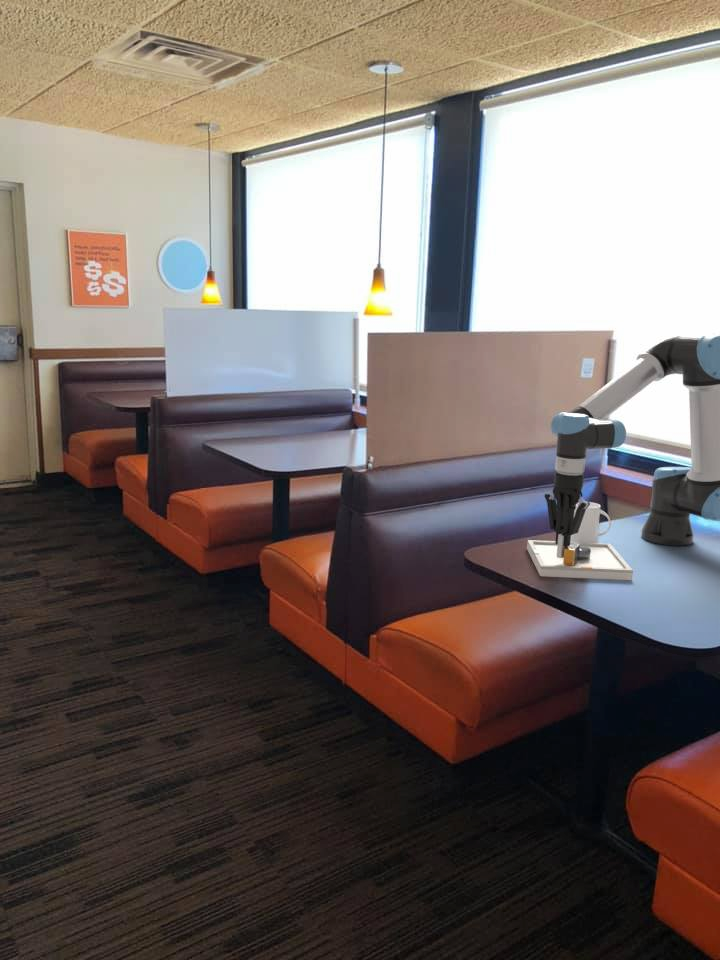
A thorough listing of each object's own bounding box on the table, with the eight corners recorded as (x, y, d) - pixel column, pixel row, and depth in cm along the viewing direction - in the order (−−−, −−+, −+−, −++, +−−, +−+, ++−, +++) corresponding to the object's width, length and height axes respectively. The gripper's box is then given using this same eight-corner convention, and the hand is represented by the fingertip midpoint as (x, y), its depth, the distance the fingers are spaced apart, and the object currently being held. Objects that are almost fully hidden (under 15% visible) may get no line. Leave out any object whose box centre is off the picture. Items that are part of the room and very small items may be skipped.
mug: (611, 543, 234) (615, 505, 232) (603, 550, 227) (607, 511, 225) (574, 536, 241) (577, 499, 238) (565, 542, 234) (568, 504, 231)
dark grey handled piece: (567, 549, 218) (569, 535, 217) (592, 554, 215) (594, 539, 214) (554, 562, 206) (556, 547, 205) (581, 567, 203) (582, 551, 202)
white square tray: (609, 552, 225) (610, 542, 224) (631, 580, 201) (633, 569, 201) (526, 549, 226) (527, 539, 226) (540, 576, 203) (541, 565, 202)
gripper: (540, 469, 204) (533, 553, 210) (582, 478, 195) (573, 566, 200) (557, 466, 209) (549, 548, 215) (598, 475, 200) (589, 560, 205)
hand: (561, 556), depth 207 cm, fingers closed
